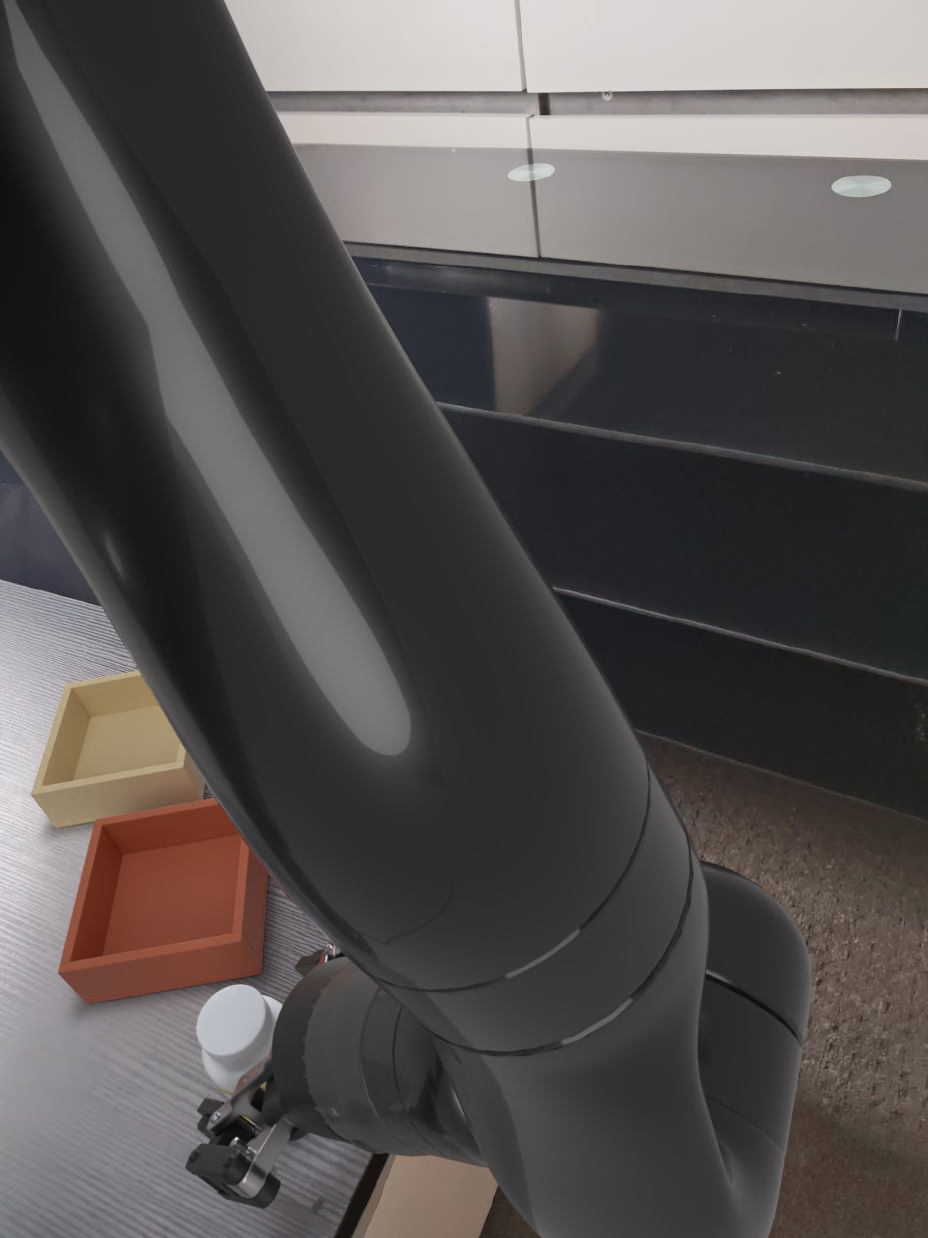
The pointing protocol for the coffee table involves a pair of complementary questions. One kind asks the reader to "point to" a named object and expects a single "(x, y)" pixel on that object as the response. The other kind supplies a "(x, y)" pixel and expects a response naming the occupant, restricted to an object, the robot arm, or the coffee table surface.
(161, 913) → the terracotta bin
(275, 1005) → the supplement bottle
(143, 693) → the cream bin
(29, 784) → the coffee table surface
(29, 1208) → the coffee table surface
